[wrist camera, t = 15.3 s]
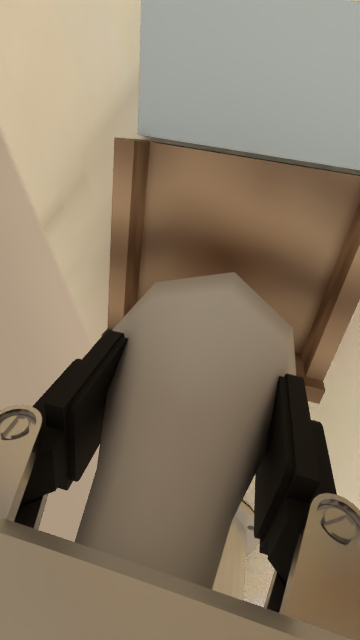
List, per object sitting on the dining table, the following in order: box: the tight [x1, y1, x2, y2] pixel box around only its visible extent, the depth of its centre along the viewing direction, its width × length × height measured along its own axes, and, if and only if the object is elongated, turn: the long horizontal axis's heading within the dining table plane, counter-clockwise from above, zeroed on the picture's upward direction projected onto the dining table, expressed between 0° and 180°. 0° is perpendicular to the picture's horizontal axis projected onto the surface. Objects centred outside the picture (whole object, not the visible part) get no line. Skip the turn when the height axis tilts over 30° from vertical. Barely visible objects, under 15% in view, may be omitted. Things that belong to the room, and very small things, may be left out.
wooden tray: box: [102, 138, 360, 404], centre depth 23 cm, size 14×16×6 cm
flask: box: [75, 272, 296, 589], centre depth 9 cm, size 7×7×10 cm
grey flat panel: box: [138, 0, 360, 170], centre depth 19 cm, size 2×15×7 cm
